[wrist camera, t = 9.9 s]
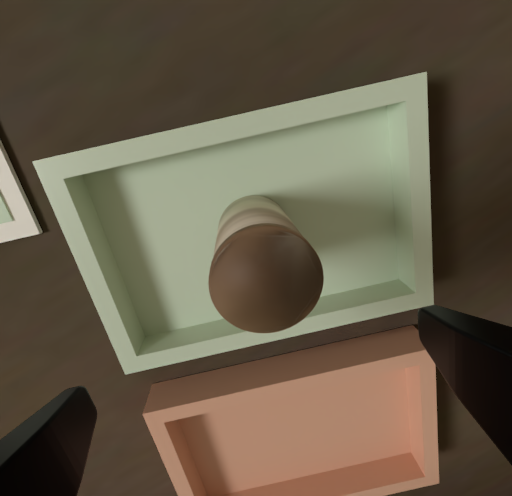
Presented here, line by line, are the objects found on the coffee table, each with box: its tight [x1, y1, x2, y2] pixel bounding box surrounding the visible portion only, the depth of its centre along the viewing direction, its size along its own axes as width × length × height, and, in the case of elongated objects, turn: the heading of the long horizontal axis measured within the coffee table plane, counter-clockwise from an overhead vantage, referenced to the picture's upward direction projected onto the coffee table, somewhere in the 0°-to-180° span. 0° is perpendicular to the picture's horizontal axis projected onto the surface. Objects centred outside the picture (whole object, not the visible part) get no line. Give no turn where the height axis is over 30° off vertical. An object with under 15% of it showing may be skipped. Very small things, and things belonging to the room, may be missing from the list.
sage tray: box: [32, 72, 434, 375], centre depth 17 cm, size 12×18×2 cm, turn 102°
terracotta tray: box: [143, 325, 439, 496], centre depth 22 cm, size 12×18×2 cm, turn 102°
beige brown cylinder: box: [208, 195, 324, 333], centre depth 15 cm, size 4×4×7 cm
